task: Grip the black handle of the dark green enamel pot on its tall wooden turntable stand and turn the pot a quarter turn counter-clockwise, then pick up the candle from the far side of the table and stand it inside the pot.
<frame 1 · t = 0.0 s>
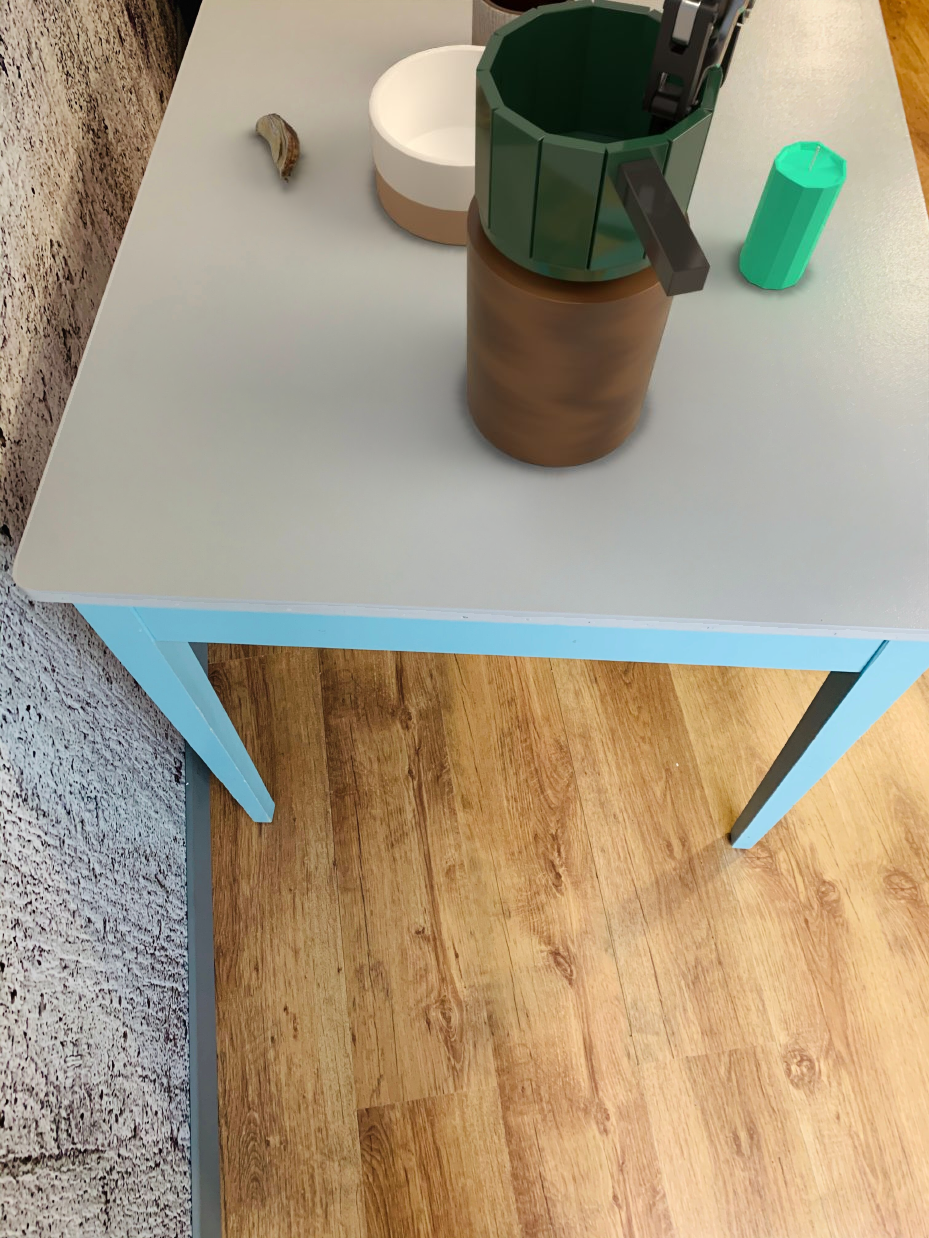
hand: (684, 122, 54), 23 cm above the table, tool pointing down, fingers open, 8 cm apart
oyster shell: (281, 162, 86), on the table
planter: (521, 84, 91), on the table
candle: (769, 268, 80), on the table
pot: (610, 189, 50), point 23 cm above the table, hinge at -0.1°, touching hand
bowl: (463, 186, 85), on the table
stand: (554, 394, 73), on the table
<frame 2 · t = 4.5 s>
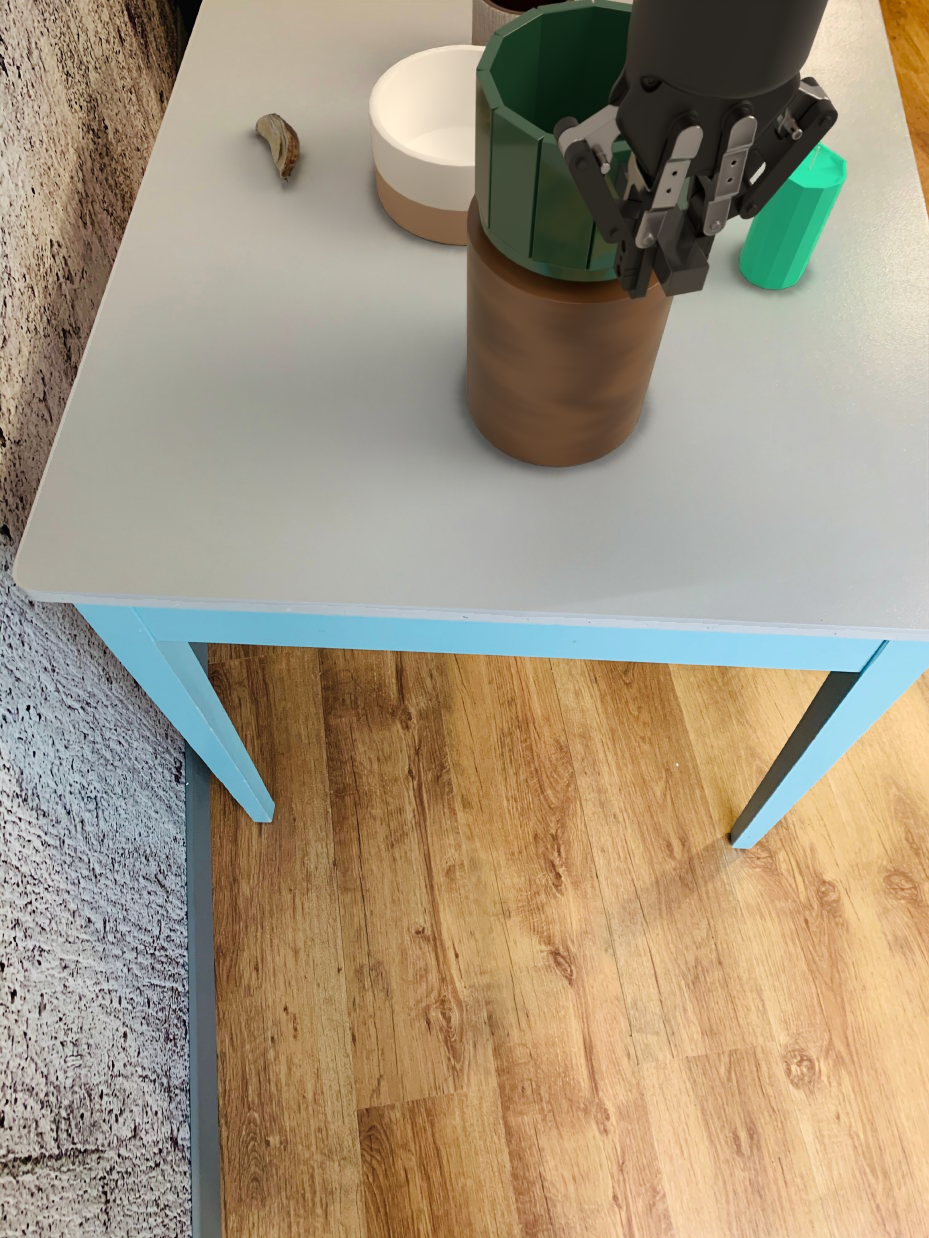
hand: (655, 282, 47), 23 cm above the table, tool pointing down, fingers closed on pot, 2 cm apart
pot: (610, 189, 50), point 23 cm above the table, hinge at -0.2°, touching gripper
everything else where it was.
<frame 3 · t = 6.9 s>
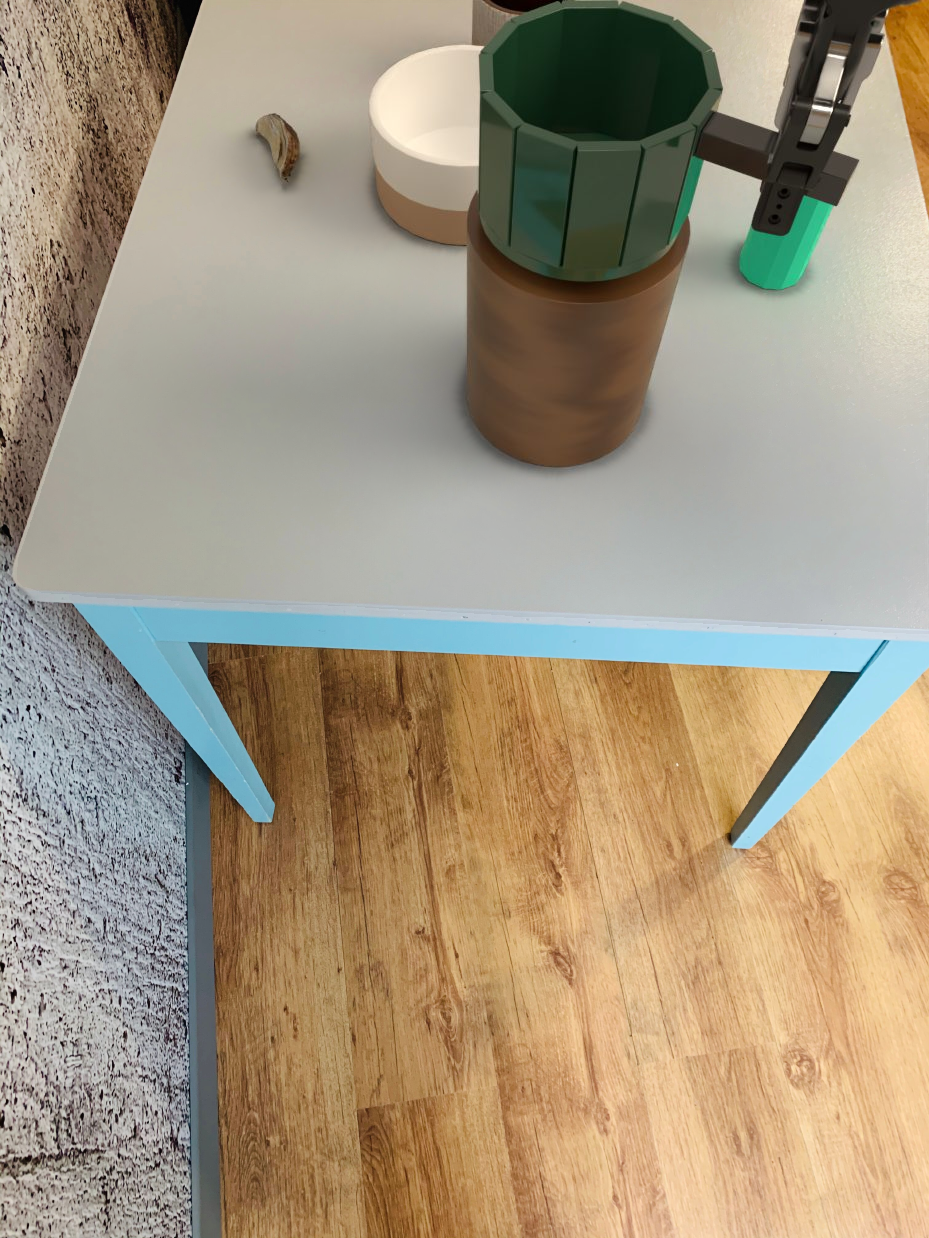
hand: (773, 210, 50), 23 cm above the table, tool pointing down, fingers closed on pot, 2 cm apart
pot: (652, 166, 51), point 23 cm above the table, hinge at 46.5°, touching gripper
everything else where it was.
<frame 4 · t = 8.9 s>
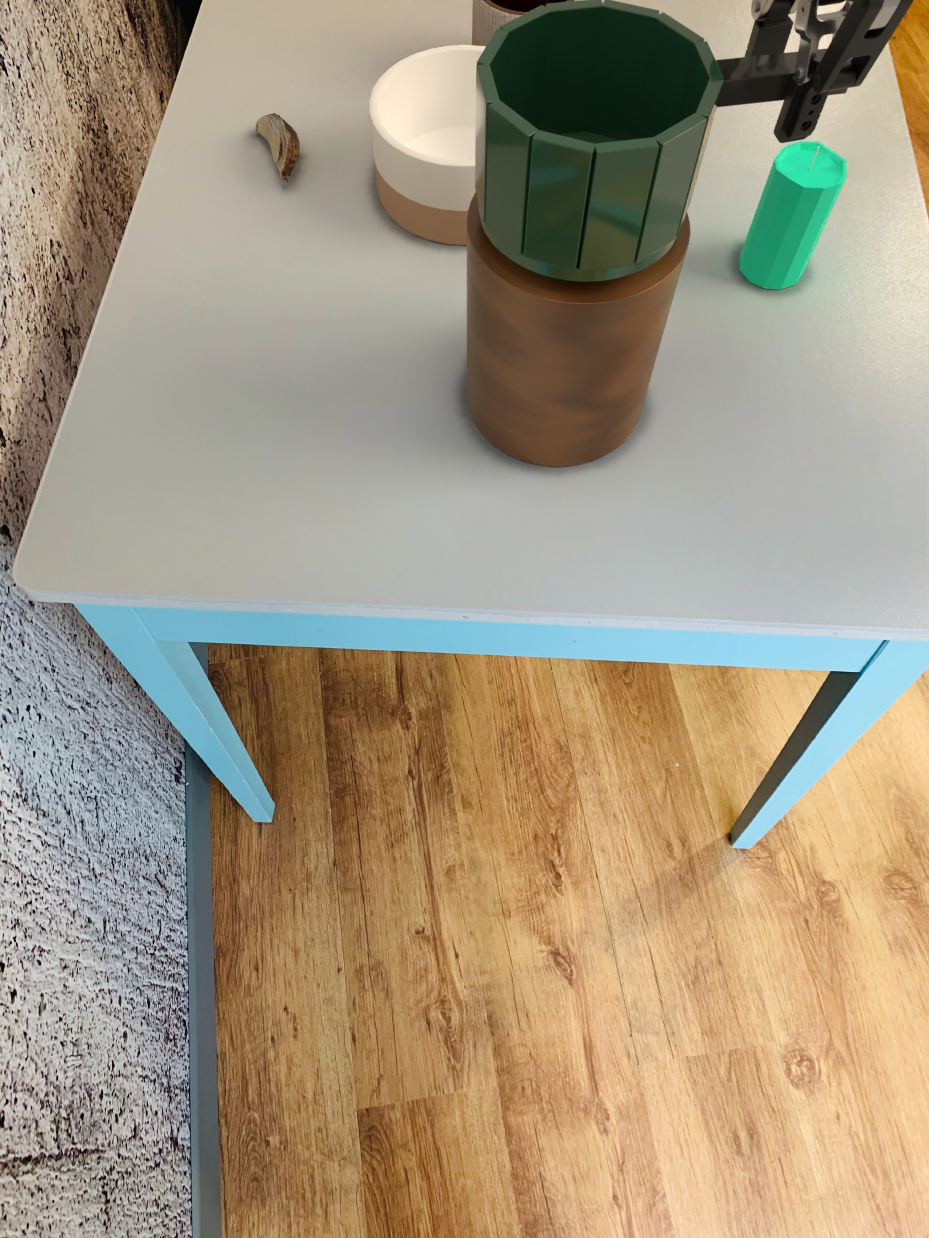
hand: (772, 108, 53), 23 cm above the table, tool pointing down, fingers open, 5 cm apart
pot: (655, 136, 52), point 23 cm above the table, hinge at 84.9°
everything else where it was.
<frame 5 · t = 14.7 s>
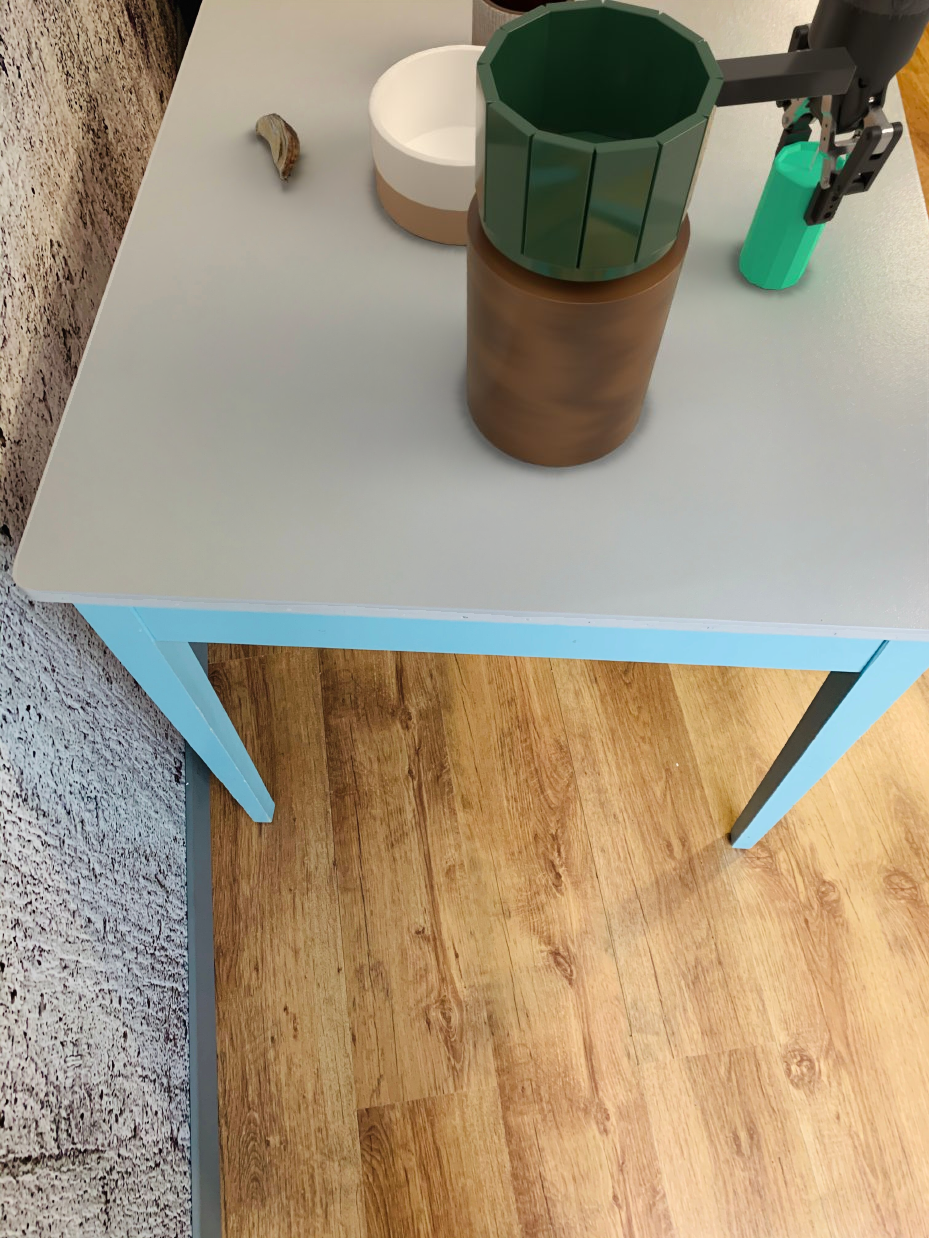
hand: (799, 194, 73), 8 cm above the table, tool pointing down, fingers closed on candle, 6 cm apart
candle: (769, 268, 80), on the table, touching gripper
everything else where it was.
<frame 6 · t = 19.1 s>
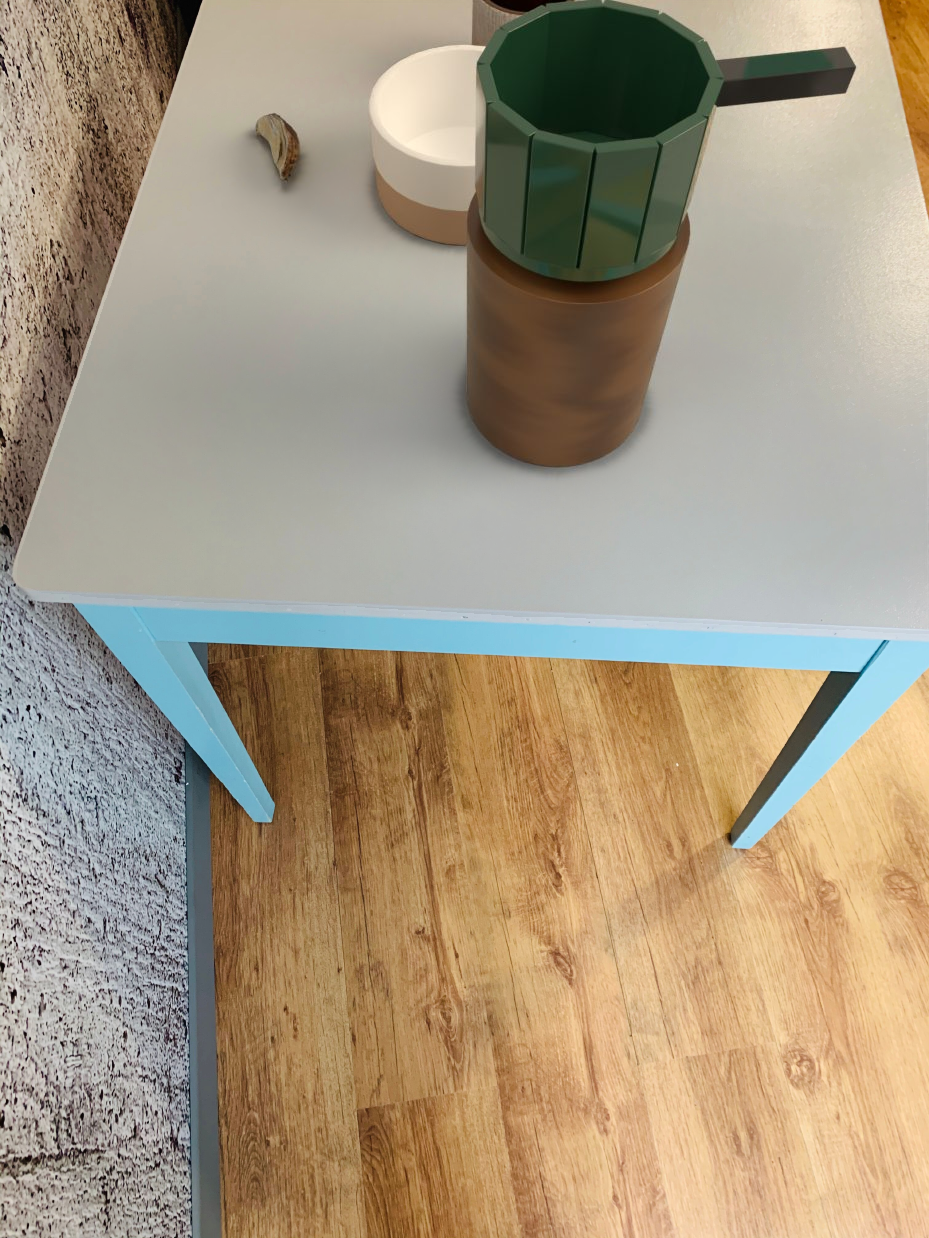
when the fingers open (27 cm above the table, at t = 23.9 s): candle stays where it is, resting on pot.
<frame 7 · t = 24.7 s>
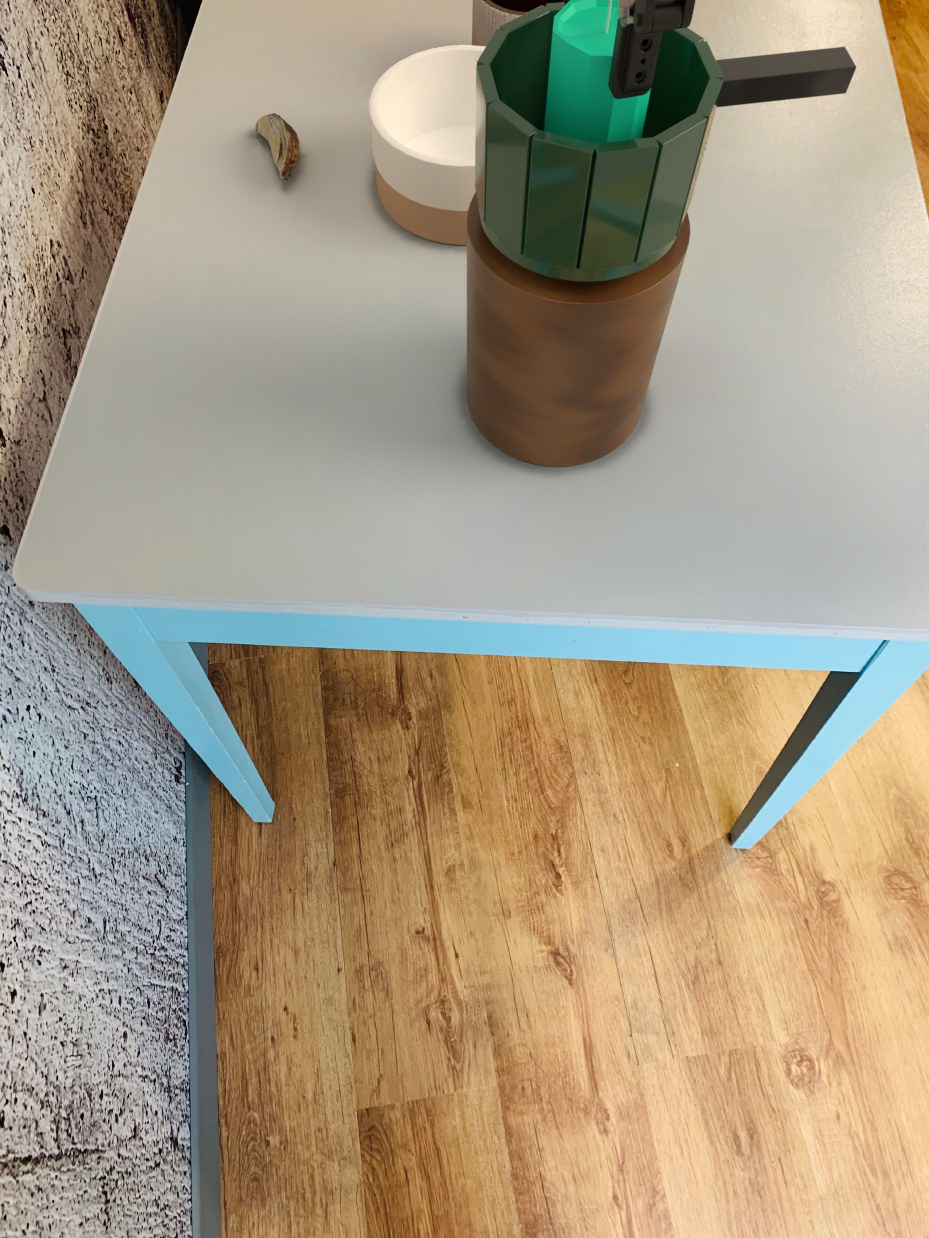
hand: (603, 45, 47), 29 cm above the table, tool pointing down, fingers open, 8 cm apart
candle: (583, 197, 55), point 19 cm above the table, touching pot
pot: (655, 136, 52), point 23 cm above the table, hinge at 84.9°, touching candle
everything else where it was.
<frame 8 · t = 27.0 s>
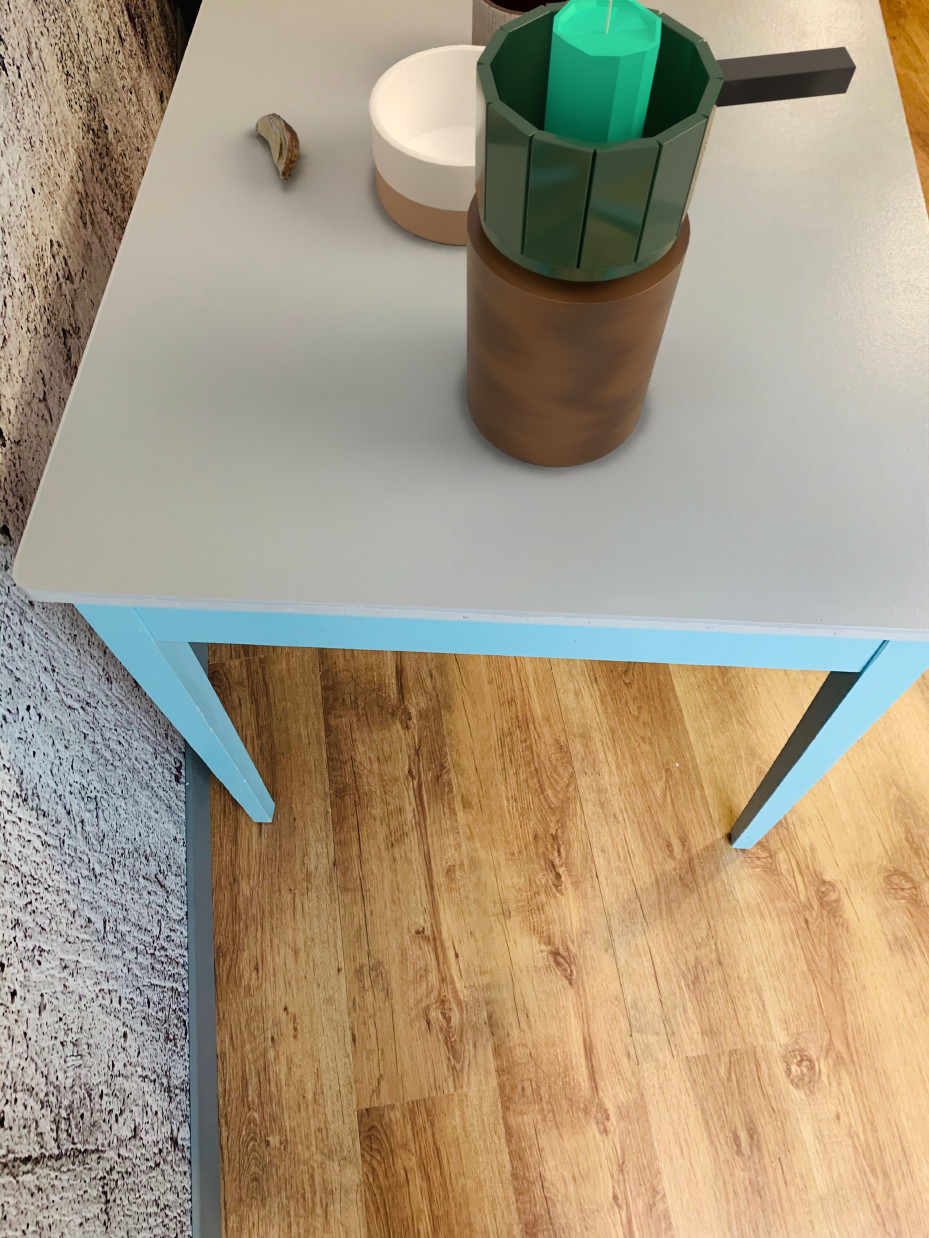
nothing on the table moved.
at the end: pot at +85° (first picture: +0°); candle 0.1 cm off-centre on the pot, point 1.9 cm above the pot's base; candle tilted 0° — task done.
